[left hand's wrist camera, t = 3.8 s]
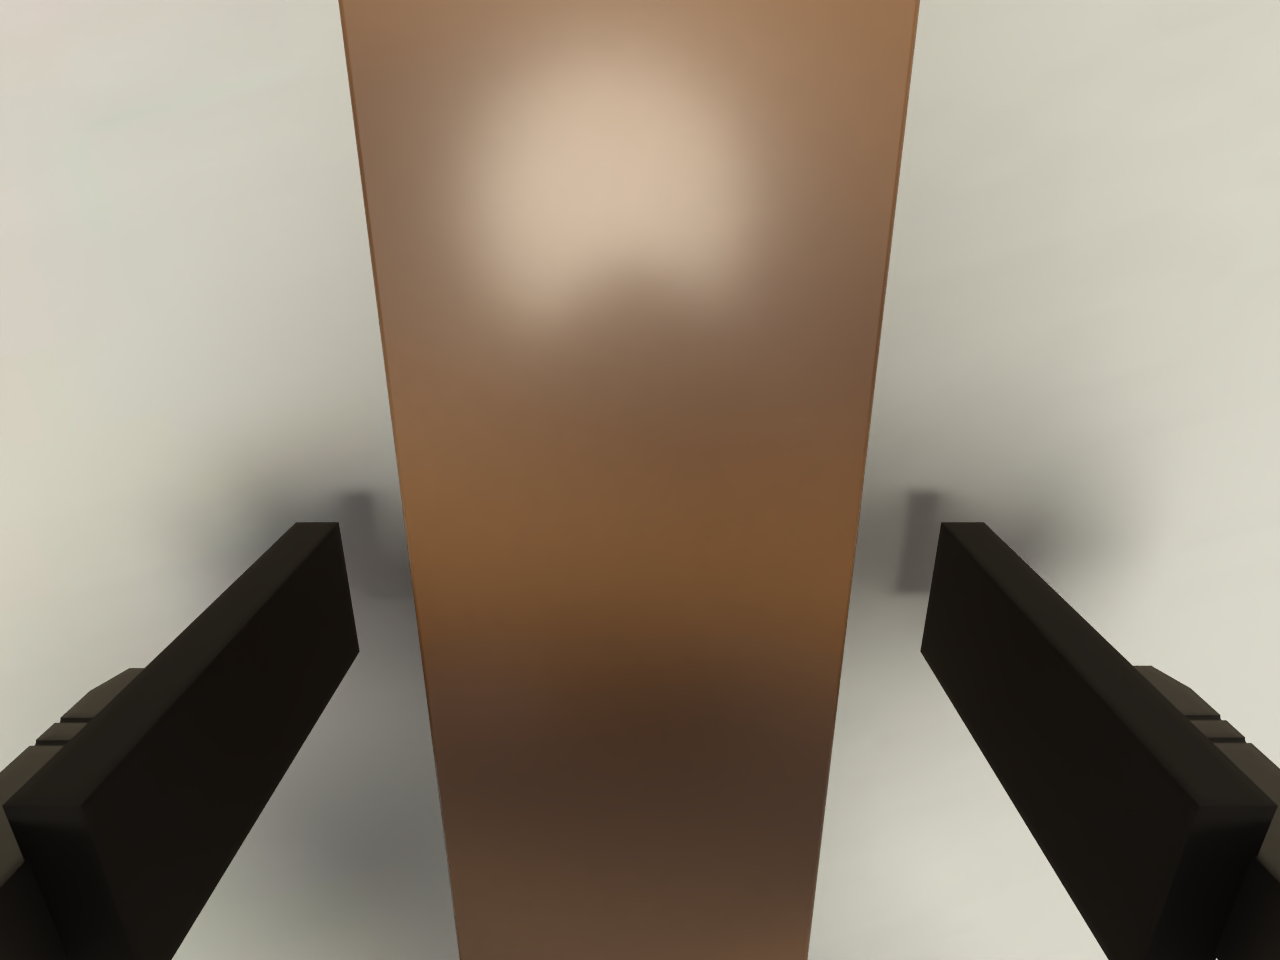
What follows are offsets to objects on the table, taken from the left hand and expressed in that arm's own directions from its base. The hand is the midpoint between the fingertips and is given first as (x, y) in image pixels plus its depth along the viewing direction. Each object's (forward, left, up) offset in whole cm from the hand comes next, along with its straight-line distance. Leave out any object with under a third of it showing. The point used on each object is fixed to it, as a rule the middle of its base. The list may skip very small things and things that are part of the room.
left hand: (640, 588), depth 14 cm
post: (+20, +15, -2) cm, 25 cm away
